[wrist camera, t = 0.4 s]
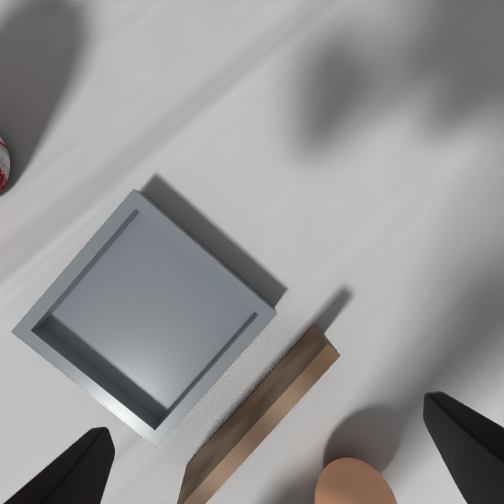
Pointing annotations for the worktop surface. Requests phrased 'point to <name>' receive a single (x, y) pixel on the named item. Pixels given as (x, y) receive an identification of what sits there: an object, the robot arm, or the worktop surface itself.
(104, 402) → the dish
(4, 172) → the soda can
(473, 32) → the worktop surface
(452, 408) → the robot arm
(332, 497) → the ball
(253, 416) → the fence
